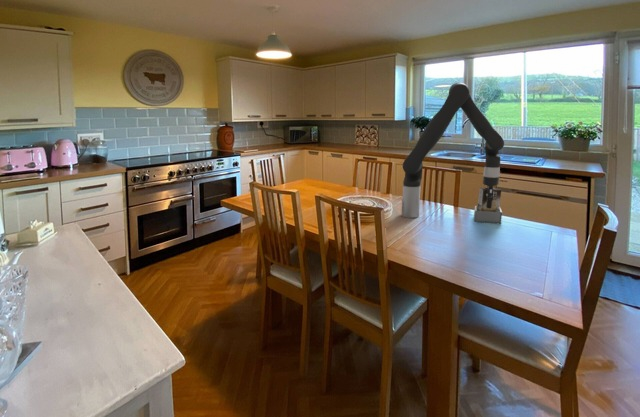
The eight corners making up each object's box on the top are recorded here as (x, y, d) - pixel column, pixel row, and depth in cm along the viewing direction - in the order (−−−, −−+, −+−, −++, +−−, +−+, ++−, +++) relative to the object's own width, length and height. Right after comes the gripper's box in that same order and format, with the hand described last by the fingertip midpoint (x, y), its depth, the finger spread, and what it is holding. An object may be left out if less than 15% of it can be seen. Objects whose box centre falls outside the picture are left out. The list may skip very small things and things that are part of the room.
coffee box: (480, 219, 200) (483, 189, 196) (476, 216, 206) (479, 187, 202) (498, 220, 200) (501, 189, 196) (493, 216, 206) (496, 187, 202)
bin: (474, 221, 201) (475, 210, 199) (473, 216, 210) (474, 205, 208) (500, 223, 196) (502, 212, 195) (499, 218, 206) (500, 207, 204)
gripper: (500, 178, 189) (497, 210, 193) (498, 173, 202) (495, 203, 206) (484, 177, 191) (481, 209, 196) (482, 172, 204) (479, 202, 209)
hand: (488, 205), depth 201 cm, fingers open, 8 cm apart
